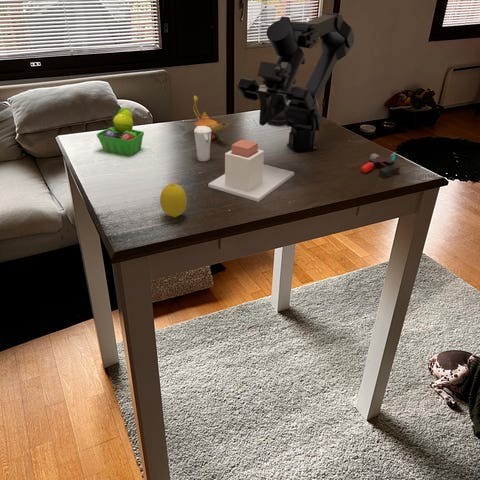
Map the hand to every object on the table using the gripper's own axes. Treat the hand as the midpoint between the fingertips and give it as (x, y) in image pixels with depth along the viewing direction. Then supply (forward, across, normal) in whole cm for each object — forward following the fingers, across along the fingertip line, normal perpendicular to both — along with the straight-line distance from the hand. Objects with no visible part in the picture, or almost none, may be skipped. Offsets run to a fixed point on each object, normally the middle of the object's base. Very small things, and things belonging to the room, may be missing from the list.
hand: (261, 124), depth 114 cm
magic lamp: (-1, -26, +21) cm, 34 cm away
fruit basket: (+14, -41, +6) cm, 44 cm away
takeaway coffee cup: (+9, -18, +11) cm, 23 cm away
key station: (+12, 0, +7) cm, 14 cm away
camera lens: (-19, -17, +38) cm, 46 cm away
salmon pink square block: (+9, 0, -1) cm, 9 cm away
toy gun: (-6, +23, +25) cm, 34 cm away
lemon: (+30, -4, -10) cm, 32 cm away
